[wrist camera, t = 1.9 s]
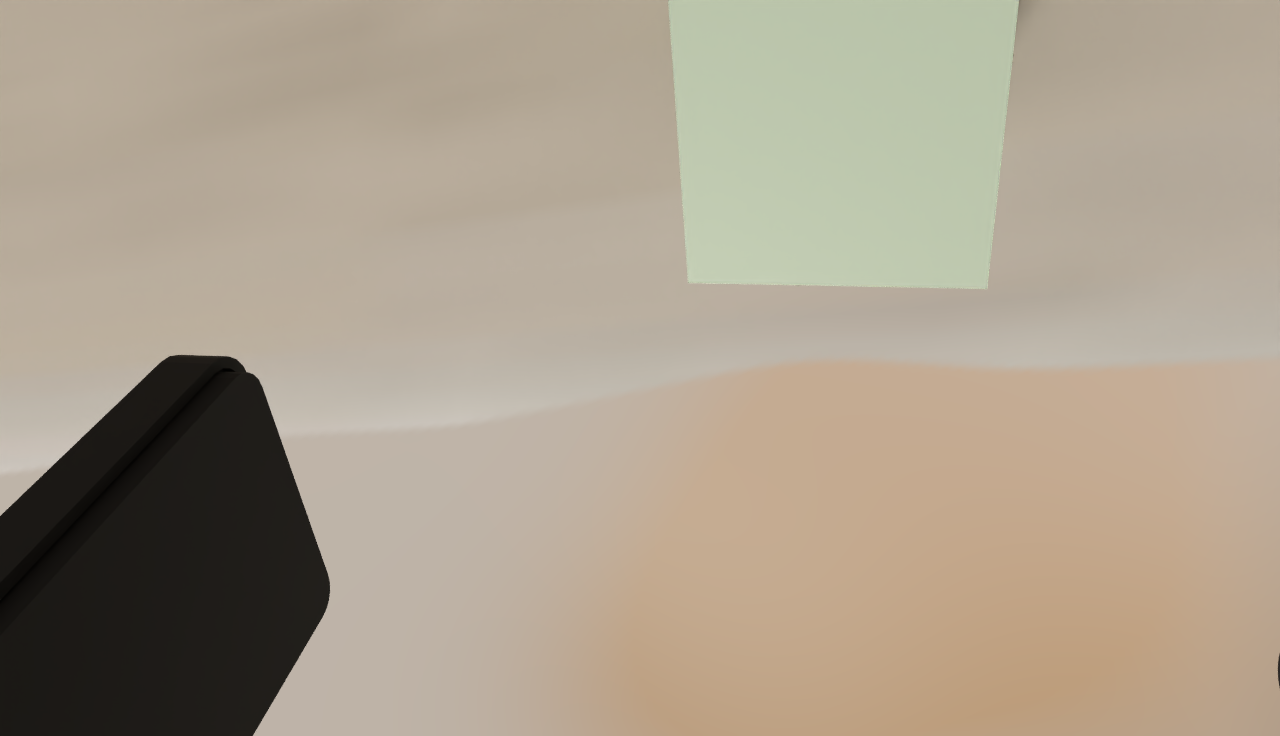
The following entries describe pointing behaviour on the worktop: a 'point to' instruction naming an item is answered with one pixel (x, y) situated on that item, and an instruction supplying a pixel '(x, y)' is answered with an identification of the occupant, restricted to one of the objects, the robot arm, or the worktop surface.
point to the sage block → (841, 139)
